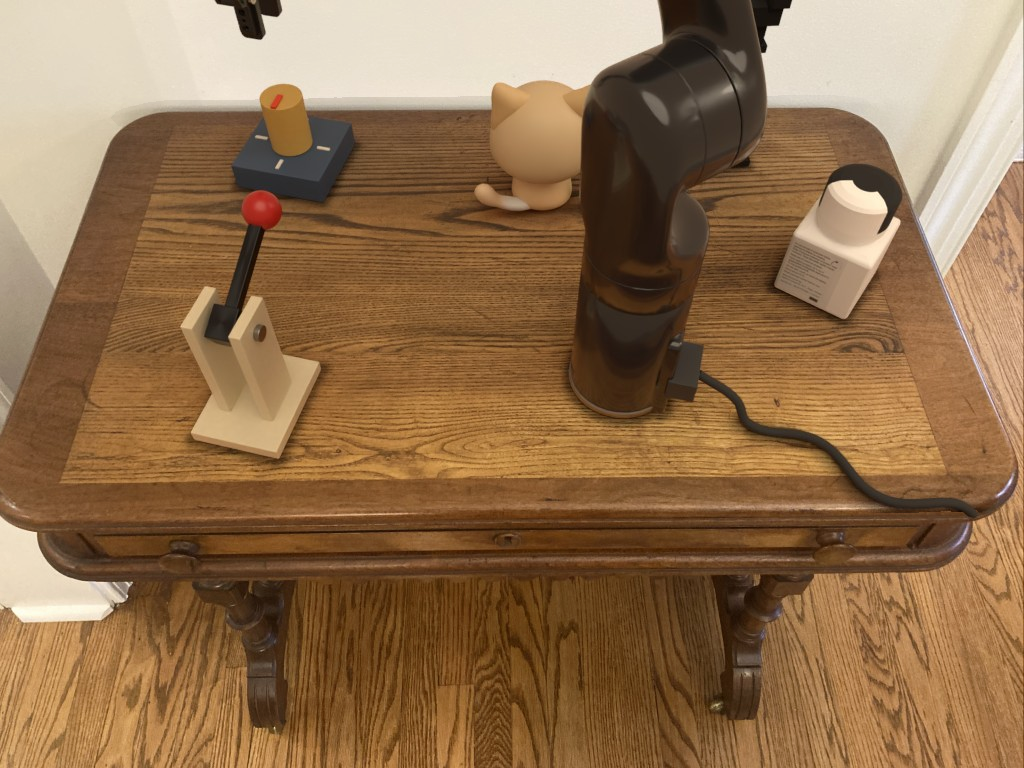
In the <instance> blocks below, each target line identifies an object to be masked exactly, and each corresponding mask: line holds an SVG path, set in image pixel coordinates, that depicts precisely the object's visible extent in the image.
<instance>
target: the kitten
mask: <svg viewBox="0 0 1024 768" xmlns="http://www.w3.org/2000/svg"><path fill="white" fill-rule="evenodd" d="M590 85H591V83H590V84H587V85H585V86H583V87H580V88H576V89H574V88H572V87H571V86H569V85H567V84H564V83H561V82H558V81H554V80H546V79H543V80H542V79H541V80H534V81H530V82H525V83H523V84H521V85H519V86H517V87H513V86H511V85H509V84H507V83H504V82H500V81H499V82H496V83H495V84H494V85H493V87H492V89H491V96H490V100H491V110H490V113H491V114H490V129H489V137H488V139H489V141H488V143H489V150H490V154H491V156H492V159H493V161H494V162H495V163H496V164H497V165H498V166H499V167H500V168H501V169H502V170H503V171H504V172H505V173H506V174H508V175H509V176H511V177H512V179H511V194H512V195H502V194H499V193H497V192H496V190H495V189H494V188H493V187H492V186H491V185H490V184H488V183H480V184H478V185H477V186H476V187H475V189H474V196H475V198H476V199H477V201H479V202H480V203H482V204H483V205H485V206H487V207H492V208H499V209H502V210H505V211H511V212H523V211H527V210H534V211H551V210H554V209H557V208H559V207H562V206H564V204H566V203H567V202H568V201H569V200H570V198H571V195H572V192H573V184H572V178H574V177H576V176H577V175H578V174H580V157H581V123H582V113H583V106H584V102H585V98H586V95H587V92H588V89H589V87H590Z"/></svg>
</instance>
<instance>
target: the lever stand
mask: <svg viewBox="0 0 1024 768" xmlns="http://www.w3.org/2000/svg"><path fill="white" fill-rule="evenodd" d="M214 304H220V305H224V304H223V302H222V299H221V296H220V294H219V292H218V290H217V288H216V287H212V286H207V285H205V286H204V287H203V289H202V290H201V292H200V293H199V295H198V297H197V299H196V300H195V301H194V303H193V305H192V307H191V308H190V310H189V311H188V313H187V315H186V316H185V318H184V319H183V321H182V323H181V324H180V325H179V327H180V330H181V332H182V334H183V336H184V339H185V340H186V342H187V345H188V347H189V348H190V350H191V351H190V352H191V353H192V355H193V357H194V359H195V361H196V363H197V365H198V367H199V369H200V371H201V373H202V375H203V377H204V379H205V382H206V384H207V385H208V387H209V390H210V391H211V395H210V397H209V398H208V400H207V402H206V403H205V405H204V407H203V409H202V411H201V413H200V414H199V416H198V418H197V420H196V421H195V424H194V425H193V427H192V429H191V431H190V434H191V437H192V438H193V440H195V441H197V442H203V443H207V444H212V445H215V446H221V447H224V448H229V449H233V450H238V451H243V452H245V453H250V454H255V455H258V456H259V455H260V456H264V457H267V458H272V459H277V460H279V459H280V458H281V456H282V453H283V452H284V450H285V447H286V445H287V443H288V441H289V438H290V436H291V434H292V432H293V431H294V429H295V427H296V424H297V422H298V420H299V418H300V415H301V414H302V411H303V409H304V408H305V407H304V406H305V405H306V403H307V400H308V398H309V396H310V395H311V392H312V389H313V388H314V386H315V384H316V382H317V380H318V377H319V375H320V373H321V372H322V367H321V364H320V361H317V360H312V359H307V358H302V357H298V356H294V355H288V354H284V353H283V352H282V349H281V347H280V344H279V341H278V338H277V335H276V332H275V329H274V326H273V323H272V320H271V317H270V315H269V312H268V308H267V306H266V303H265V301H264V297H262V296H256V295H251V296H250V297H249V299H248V301H247V303H246V304H245V306H244V307H243V309H242V313H241V315H240V317H239V319H238V320H237V322H236V324H235V326H234V327H233V329H232V331H231V333H230V334H229V336H228V338H229V340H230V343H231V345H232V347H229V346H224V345H220V344H216V343H214V342H213V341H211V340H209V339H207V338H205V337H204V335H205V331H206V328H207V325H208V321H209V318H210V315H211V311H212V308H213V305H214Z"/></svg>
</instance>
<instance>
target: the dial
mask: <svg viewBox="0 0 1024 768" xmlns="http://www.w3.org/2000/svg"><path fill="white" fill-rule="evenodd" d="M259 104H260V107H261V112H262V115H263V116H264V119H265V123H266V126H267V130H268V134H269V137H270V141H271V145H272V148H273V150H274V151H275V152H276V153H278V154H280V155H283V156H297V155H300V154H303V153H305V152H306V151H308V150H309V149H310V147H311V146H312V143H313V140H312V135H311V131H310V126H309V122H308V117H307V116H308V113H307V109H306V105H305V99H304V94H303V91H302V90H301V89H300V88H299V87H298V86H296V85H293V84H290V83H279V84H278V83H277V84H274V85H270V86H268V87H267V88H265V89H264V90H263V91H262V92H261V93H260V95H259Z"/></svg>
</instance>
